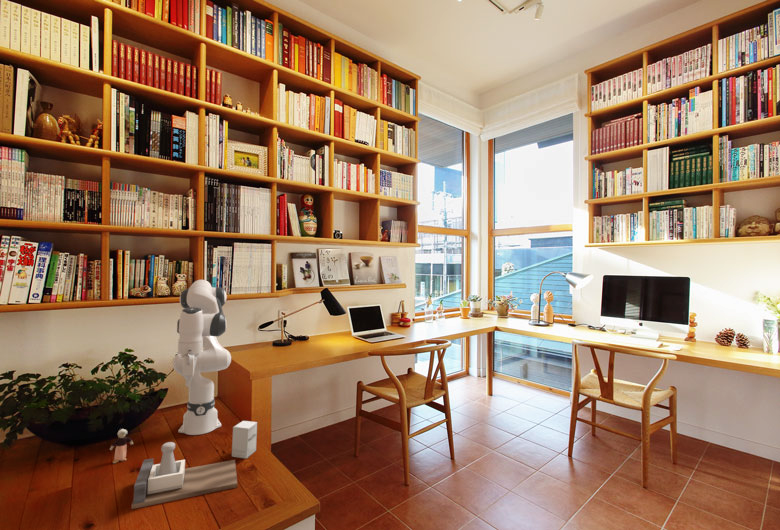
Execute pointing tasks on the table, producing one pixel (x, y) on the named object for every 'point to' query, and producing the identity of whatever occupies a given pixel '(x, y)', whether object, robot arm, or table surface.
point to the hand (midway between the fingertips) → (189, 382)
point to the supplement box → (244, 439)
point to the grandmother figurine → (121, 446)
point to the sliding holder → (166, 479)
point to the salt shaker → (167, 459)
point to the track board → (186, 483)
